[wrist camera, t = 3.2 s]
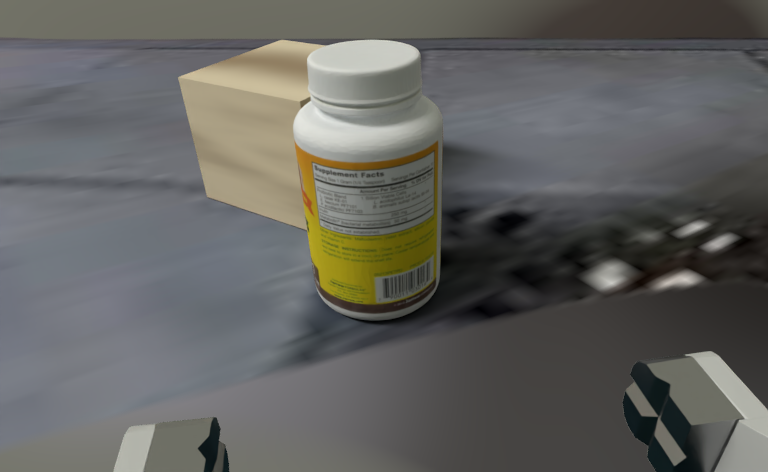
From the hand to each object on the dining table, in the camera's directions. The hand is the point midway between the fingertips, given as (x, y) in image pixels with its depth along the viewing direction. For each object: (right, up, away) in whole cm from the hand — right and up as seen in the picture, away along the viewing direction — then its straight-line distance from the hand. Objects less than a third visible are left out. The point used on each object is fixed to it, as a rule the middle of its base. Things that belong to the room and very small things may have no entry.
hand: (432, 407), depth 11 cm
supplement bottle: (-1, +1, +14) cm, 14 cm away
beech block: (-6, +7, +22) cm, 24 cm away
